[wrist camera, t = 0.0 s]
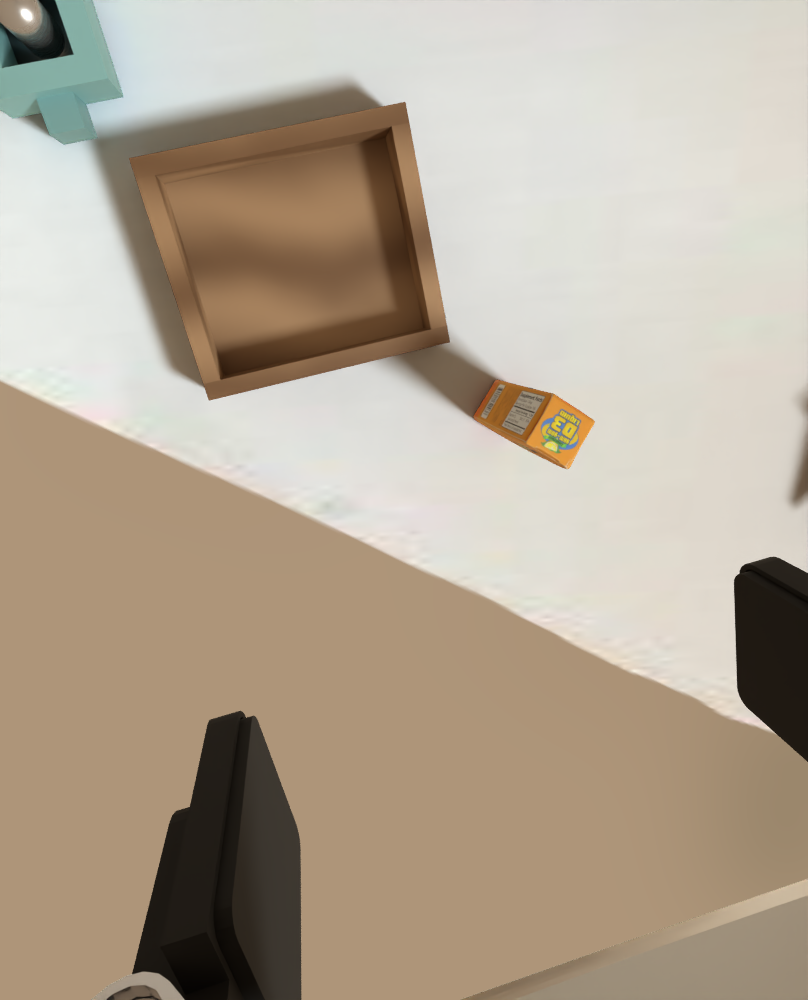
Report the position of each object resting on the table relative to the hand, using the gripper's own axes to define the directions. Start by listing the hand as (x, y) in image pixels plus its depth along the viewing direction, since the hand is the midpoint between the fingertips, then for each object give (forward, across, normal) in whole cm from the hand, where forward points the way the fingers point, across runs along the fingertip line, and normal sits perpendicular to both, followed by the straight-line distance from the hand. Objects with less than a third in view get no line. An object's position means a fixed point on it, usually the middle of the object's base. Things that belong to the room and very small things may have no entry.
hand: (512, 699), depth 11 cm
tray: (+31, +1, -10) cm, 33 cm away
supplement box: (+31, -10, +2) cm, 33 cm away
